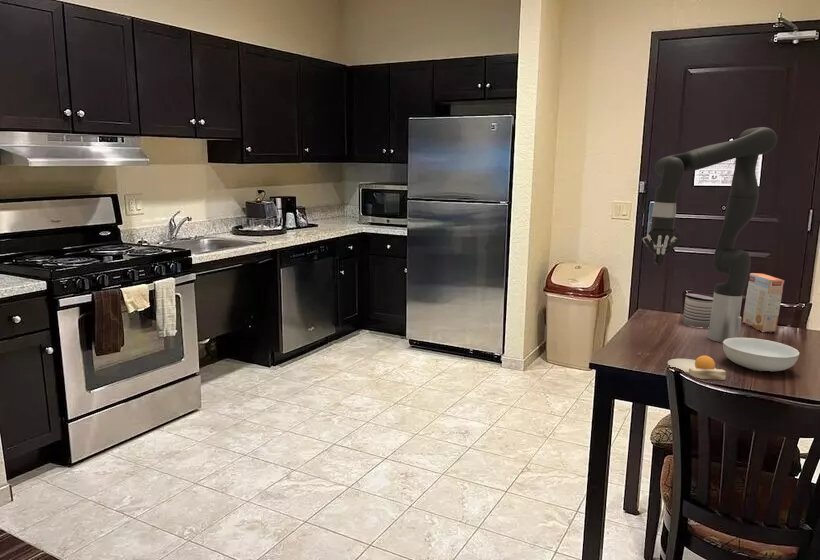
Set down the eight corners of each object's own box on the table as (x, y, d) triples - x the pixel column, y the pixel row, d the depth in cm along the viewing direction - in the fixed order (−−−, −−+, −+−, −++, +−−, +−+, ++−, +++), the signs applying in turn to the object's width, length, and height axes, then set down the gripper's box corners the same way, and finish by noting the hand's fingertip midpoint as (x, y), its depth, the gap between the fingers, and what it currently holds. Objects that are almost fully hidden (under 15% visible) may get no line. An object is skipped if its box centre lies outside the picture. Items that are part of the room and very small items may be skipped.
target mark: (709, 361, 193) (709, 360, 193) (722, 376, 180) (722, 375, 180) (663, 357, 196) (663, 356, 196) (673, 371, 182) (673, 371, 182)
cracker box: (776, 333, 229) (785, 280, 225) (760, 333, 229) (769, 279, 225) (756, 323, 243) (764, 272, 239) (741, 323, 243) (749, 272, 239)
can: (675, 321, 242) (679, 292, 240) (699, 320, 245) (703, 291, 243) (695, 329, 231) (699, 299, 229) (720, 328, 234) (724, 298, 232)
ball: (713, 354, 183) (721, 364, 178) (705, 368, 186) (713, 379, 181) (696, 350, 183) (704, 360, 178) (688, 364, 185) (696, 375, 180)
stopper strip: (721, 377, 179) (722, 369, 179) (725, 379, 177) (726, 371, 177) (688, 376, 179) (689, 368, 179) (691, 378, 177) (692, 370, 177)
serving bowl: (781, 360, 198) (784, 340, 196) (807, 382, 178) (811, 360, 176) (713, 353, 202) (715, 333, 201) (730, 374, 182) (734, 352, 181)
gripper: (678, 215, 213) (672, 263, 216) (640, 213, 213) (635, 262, 216) (687, 217, 205) (681, 267, 209) (648, 215, 206) (643, 265, 209)
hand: (657, 264), depth 213 cm, fingers closed
